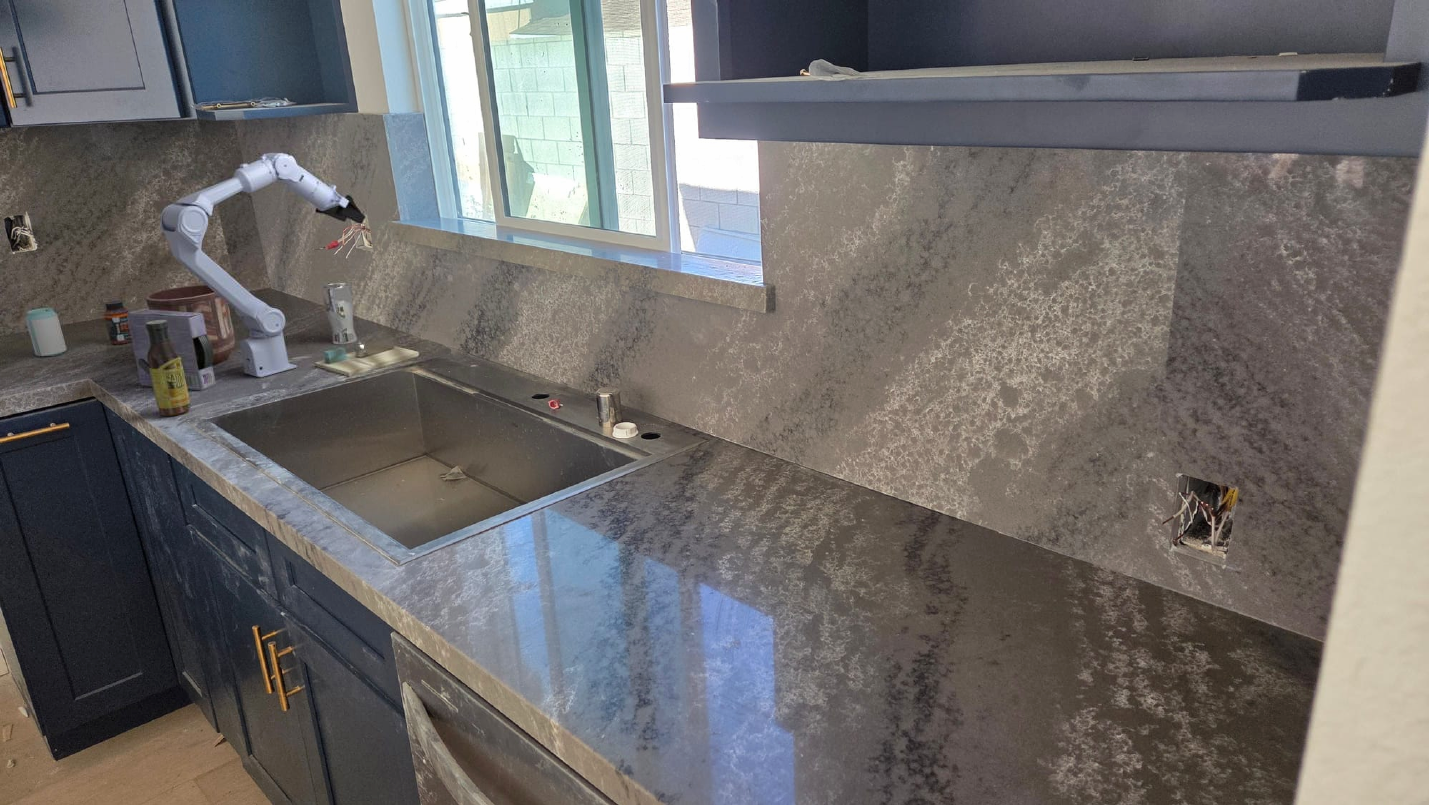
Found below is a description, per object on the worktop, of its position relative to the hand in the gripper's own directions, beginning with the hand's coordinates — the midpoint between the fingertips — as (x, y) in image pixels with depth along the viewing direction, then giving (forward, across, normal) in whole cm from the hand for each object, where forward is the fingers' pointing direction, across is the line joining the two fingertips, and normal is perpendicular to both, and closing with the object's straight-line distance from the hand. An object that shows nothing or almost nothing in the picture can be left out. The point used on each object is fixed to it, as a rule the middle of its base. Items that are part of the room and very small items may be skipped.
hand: (354, 219), depth 251 cm
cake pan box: (-13, +7, +55) cm, 57 cm away
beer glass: (+18, +8, +27) cm, 33 cm away
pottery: (-4, +24, +47) cm, 52 cm away
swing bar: (+14, -13, +28) cm, 34 cm away
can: (-18, +70, +59) cm, 93 cm away
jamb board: (+13, -14, +31) cm, 37 cm away
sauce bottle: (-20, -12, +61) cm, 65 cm away
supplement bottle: (-6, +65, +49) cm, 81 cm away
